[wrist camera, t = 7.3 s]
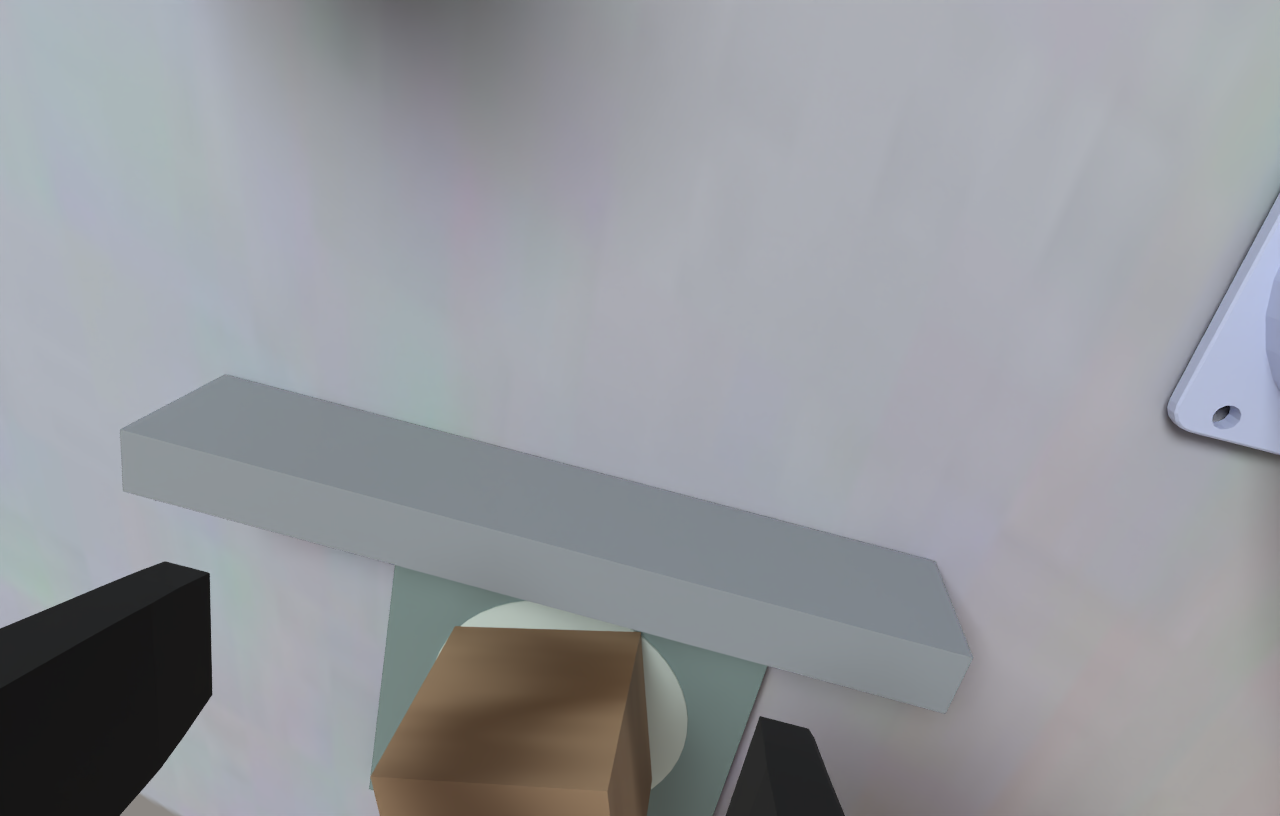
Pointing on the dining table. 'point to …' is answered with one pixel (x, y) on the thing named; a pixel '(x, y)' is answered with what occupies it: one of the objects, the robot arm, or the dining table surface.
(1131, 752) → the dining table surface
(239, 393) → the low wall
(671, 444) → the dining table surface
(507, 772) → the walnut block
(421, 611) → the mat
